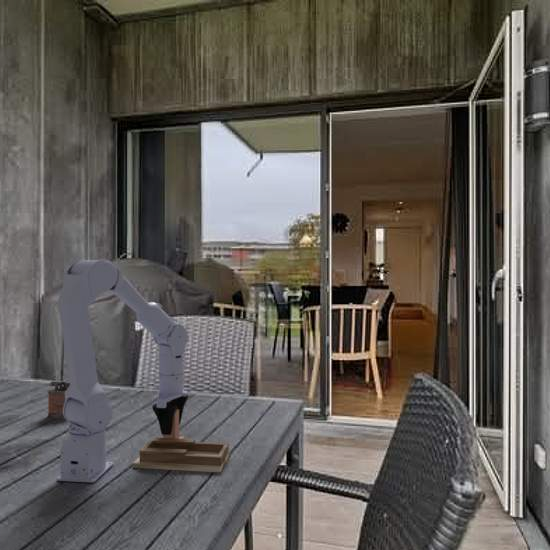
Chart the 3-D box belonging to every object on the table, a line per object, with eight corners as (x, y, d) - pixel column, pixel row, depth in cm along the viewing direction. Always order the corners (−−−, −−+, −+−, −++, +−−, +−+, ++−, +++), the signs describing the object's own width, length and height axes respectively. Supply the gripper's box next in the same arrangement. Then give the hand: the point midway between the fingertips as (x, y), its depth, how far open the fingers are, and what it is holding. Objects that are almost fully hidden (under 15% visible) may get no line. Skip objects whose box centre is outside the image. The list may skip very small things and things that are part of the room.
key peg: (178, 448, 121) (178, 414, 121) (157, 447, 122) (157, 413, 121) (184, 440, 126) (184, 408, 126) (164, 439, 127) (164, 407, 126)
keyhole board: (220, 472, 107) (220, 456, 107) (132, 467, 109) (132, 451, 109) (230, 454, 117) (230, 439, 117) (149, 450, 119) (149, 435, 119)
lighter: (79, 414, 147) (79, 379, 146) (75, 417, 143) (74, 382, 143) (50, 414, 147) (50, 379, 146) (45, 418, 143) (45, 382, 143)
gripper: (178, 380, 116) (178, 440, 116) (195, 367, 130) (195, 420, 130) (147, 379, 116) (147, 439, 117) (168, 366, 131) (168, 419, 131)
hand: (171, 429), depth 124 cm, fingers open, 6 cm apart
